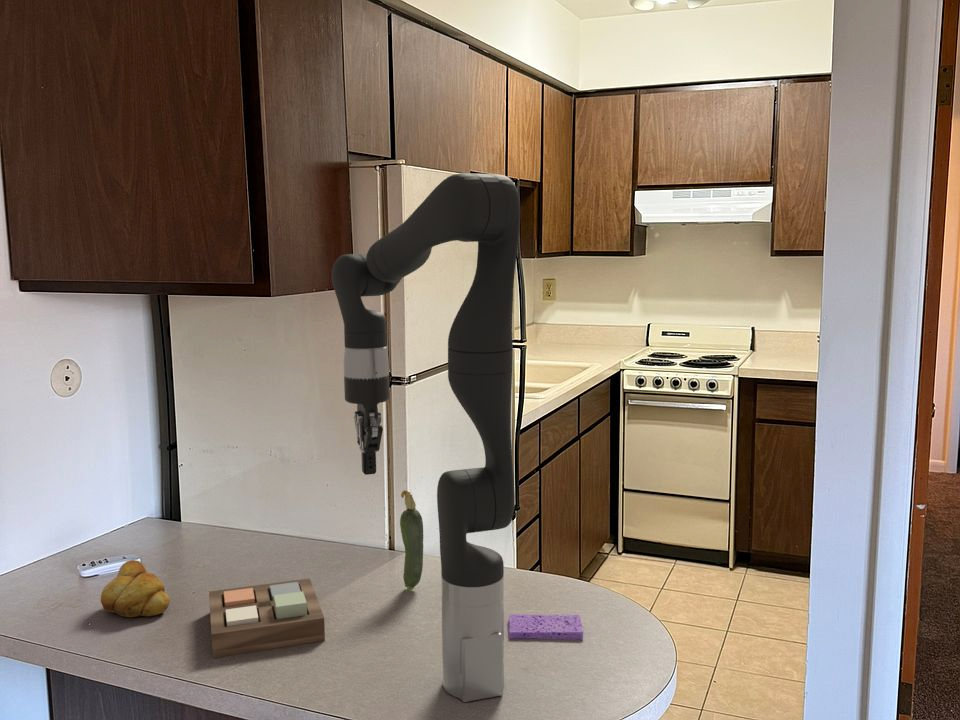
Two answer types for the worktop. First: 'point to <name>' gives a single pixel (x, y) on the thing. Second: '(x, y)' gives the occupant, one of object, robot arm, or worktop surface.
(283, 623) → the keypad
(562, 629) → the sponges
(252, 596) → the key terracotta
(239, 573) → the worktop surface
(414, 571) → the vegetable
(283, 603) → the key sage
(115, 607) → the bread roll
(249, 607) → the key cream
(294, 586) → the key slate
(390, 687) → the worktop surface
